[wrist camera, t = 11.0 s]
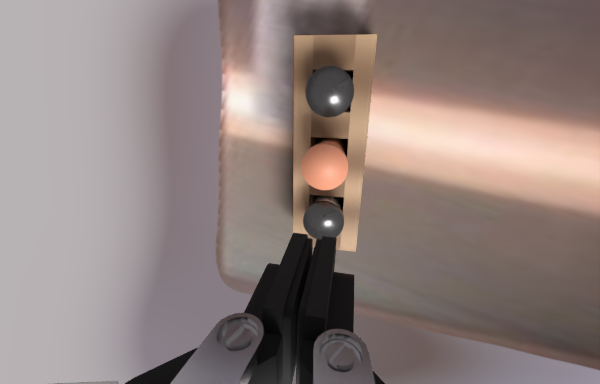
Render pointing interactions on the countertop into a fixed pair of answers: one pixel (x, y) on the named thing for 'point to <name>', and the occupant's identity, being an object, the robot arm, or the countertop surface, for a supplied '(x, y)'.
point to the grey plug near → (329, 91)
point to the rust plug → (325, 164)
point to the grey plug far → (324, 217)
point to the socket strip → (332, 123)
